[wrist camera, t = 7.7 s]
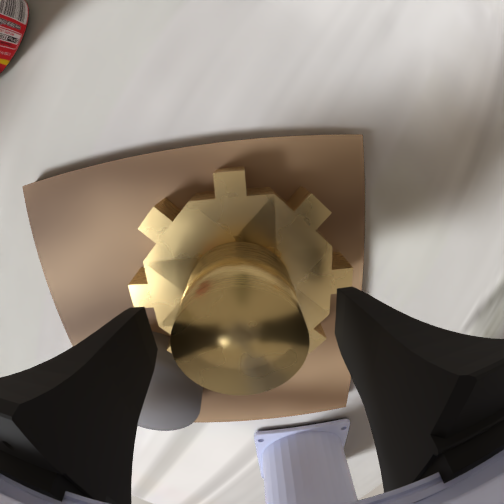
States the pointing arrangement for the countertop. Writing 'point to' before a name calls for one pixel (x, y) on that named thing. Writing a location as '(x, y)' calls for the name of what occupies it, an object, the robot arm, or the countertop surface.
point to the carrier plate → (139, 245)
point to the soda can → (11, 28)
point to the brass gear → (240, 282)
